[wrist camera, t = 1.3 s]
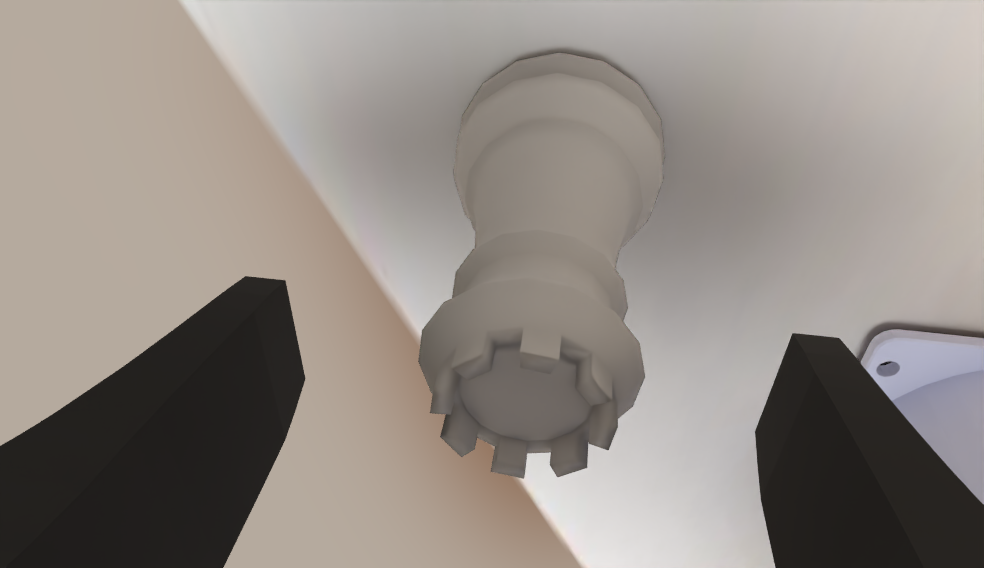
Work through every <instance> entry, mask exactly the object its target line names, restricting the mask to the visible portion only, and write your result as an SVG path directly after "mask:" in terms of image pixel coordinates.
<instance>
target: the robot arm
mask: <svg viewBox="0 0 984 568" xmlns="http://www.w3.org/2000/svg"><path fill="white" fill-rule="evenodd" d="M888 361H892V362H891V363H889V364H887V365H880V364H882V363H884V362H888ZM304 381H305V375H304V370H303V365H302V360H301V355H300V350H299V345H298V341H297V336H296V331H295V326H294V321H293V316H292V311H291V306H290V301H289V296H288V291H287V286H286V281H285V280H276V279H266V278H257V277H247V276H245V277H244V278H242V279H241V280H240V281H238V282H237V283H235V284H234V285H233V286H231V287H230V288H228V289H227V290H226V291H225V292H223V293H222V294H220V295H219V296H218V297H216V298H215V299H214V300H212V301H211V302H210V303H208V304H207V305H206V306H204V307H203V308H202V309H200V310H199V311H198V312H197V313H195V314H194V315H193V316H191V317H190V318H189V319H187V320H186V321H185V322H183V323H182V324H181V325H179V326H178V327H177V328H175V329H174V330H173V331H171V332H170V333H168V334H167V335H166V336H164V337H163V338H162V339H160V340H159V341H158V342H157V343H155V344H154V345H152V346H151V347H150V348H148V349H147V350H146V351H144V352H143V353H141V354H140V355H139V356H137V357H136V358H135V359H133V360H132V361H130V362H129V363H128V364H126V365H125V366H124V367H122V368H121V369H119V370H118V371H116V372H115V373H113V374H112V375H110V376H109V377H107V378H106V379H104V380H103V381H101V382H100V383H98V384H97V385H95V386H94V387H92V388H91V389H90V390H88V391H87V392H85V393H84V394H82V395H81V396H79V397H78V398H77V399H75V400H73V401H72V402H70V403H69V404H67V405H66V406H64V407H63V408H61V409H60V410H58V411H57V412H55V413H54V414H53V415H51V416H49V417H48V418H46V419H44V420H43V421H41V422H40V423H38V424H36V425H35V426H33V427H32V428H30V429H28V430H27V431H25V432H23V433H22V434H20V435H18V436H17V437H15V438H13V439H12V440H10V441H8V442H7V443H5V444H3V445H1V446H0V568H223V567H224V565H225V563H226V561H227V559H228V557H229V555H230V553H231V551H232V549H233V547H234V545H235V543H236V541H237V539H238V536H239V534H240V532H241V530H242V528H243V526H244V524H245V522H246V520H247V518H248V516H249V514H250V512H251V510H252V508H253V506H254V504H255V502H256V500H257V498H258V495H259V494H260V491H261V489H262V487H263V485H264V483H265V481H266V479H267V477H268V475H269V472H270V471H271V469H272V466H273V464H274V462H275V460H276V458H277V456H278V454H279V452H280V450H281V447H282V445H283V443H284V441H285V439H286V436H287V433H288V430H289V427H290V424H291V422H292V419H293V416H294V413H295V410H296V407H297V403H298V400H299V397H300V394H301V391H302V387H303V385H304ZM755 436H756V449H757V463H758V474H759V484H760V494H761V502H762V506H763V511H764V516H765V521H766V526H767V530H768V535H769V540H770V544H771V549H772V553H773V558H774V563H775V567H776V568H984V338H977V337H967V336H957V335H948V334H938V333H929V332H919V331H909V330H900V329H897V330H888V331H884V332H881V333H880V334H878V335H876V336H875V337H874V338H873V339H872V341H871V342H870V344H869V346H868V348H867V350H866V352H865V354H864V356H863V358H862V360H861V363H860V362H859V361H858V360H857V359H856V357H855V356H854V355H853V354H852V353H851V351H850V350H849V349H848V348H847V347H846V345H845V344H844V343H843V342H842V341H841V340H840V339H839V338H834V337H824V336H815V335H805V334H795V333H793V334H792V336H791V339H790V342H789V344H788V347H787V350H786V352H785V355H784V357H783V360H782V363H781V365H780V368H779V370H778V373H777V376H776V378H775V381H774V384H773V386H772V389H771V391H770V394H769V397H768V399H767V402H766V405H765V407H764V410H763V412H762V415H761V418H760V420H759V423H758V425H757V428H756V431H755Z"/></svg>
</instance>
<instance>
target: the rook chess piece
mask: <svg viewBox="0 0 984 568" xmlns="http://www.w3.org/2000/svg"><path fill="white" fill-rule="evenodd" d="M664 159H665V151H664V142H663V134H662V125H661V119H660V117H659V116H658V114H657V112H656V111H655V109H654V108H653V106H652V104H651V103H650V101H649V100H648V98H647V96H646V95H645V93H644V92H643V90H642V88H641V87H640V85H639V84H637V83H636V82H634V81H633V80H631V79H630V78H628V77H627V76H625V75H624V74H622V73H621V72H619V71H618V70H616V69H615V68H613V67H612V66H610V65H609V64H607V63H606V62H604V61H601V60H596V59H591V58H586V57H581V56H576V55H571V54H566V53H561V52H560V53H555V54H549V55H544V56H539V57H534V58H529V59H523V60H518V61H516V62H514V63H513V64H511V65H510V66H508V67H507V68H505V69H504V70H502V71H501V72H499V73H498V74H496V75H495V76H493V77H492V78H490V79H489V80H487V81H486V82H484V83H483V84H482V86H481V87H480V89H479V90H478V92H477V93H476V95H475V97H474V98H473V100H472V101H471V103H470V104H469V106H468V108H467V109H466V111H465V112H464V114H463V116H462V120H461V128H460V134H459V135H458V139H457V147H456V155H455V162H454V170H453V174H454V179H455V183H456V187H457V190H458V193H459V196H460V199H461V203H462V206H463V209H464V212H465V215H466V216H467V217H468V218H469V219H470V221H471V223H472V226H473V229H474V230H475V231H476V235H475V249H473V250H472V252H471V253H470V254H469V256H468V257H467V258H466V260H465V261H464V262H463V264H462V265H461V266H460V268H459V269H458V270H457V272H456V275H455V282H454V289H453V295H452V299H450V300H448V301H446V302H444V303H443V304H442V305H441V306H440V308H439V309H438V310H437V312H436V313H435V314H434V316H433V317H432V318H431V319H430V321H429V322H428V323H427V325H426V326H425V327H424V329H423V330H422V336H421V344H420V353H419V361H418V362H419V364H420V366H421V369H422V372H423V374H424V376H425V379H426V381H427V384H428V386H429V388H430V391H431V393H432V394H433V396H432V403H431V411H430V413H435V414H446V416H445V420H444V424H443V429H442V432H441V436H440V437H441V438H442V439H443V440H444V441H445V442H446V443H447V444H448V445H449V446H450V447H451V448H452V449H453V450H455V451H456V452H457V453H458V454H459V455H460V456H461V457H463V456H464V455H466V454H468V453H469V452H471V451H472V450H474V449H475V445H476V440H477V438H479V439H481V440H483V441H485V442H487V443H489V444H491V445H493V446H495V450H494V456H493V461H492V468H491V472H495V473H500V474H505V475H510V476H514V477H519V478H524V475H525V467H526V459H527V453H545V452H551V458H550V466H551V468H552V469H553V471H554V472H555V474H556V476H557V477H560V476H563V475H566V474H569V473H572V472H575V471H578V470H581V469H584V468H587V457H588V442H589V444H592V445H595V446H597V447H600V448H603V449H606V450H609V447H610V445H611V442H612V440H613V437H614V435H615V432H616V430H617V428H618V418H620V417H621V416H622V415H623V414H624V413H625V412H627V411H628V410H629V409H630V408H631V407H633V405H634V402H635V400H636V397H637V395H638V392H639V390H640V388H641V385H642V383H643V380H644V378H645V373H644V367H643V361H642V355H641V349H640V343H639V342H638V340H637V339H636V338H635V337H634V335H633V334H632V333H631V331H630V330H629V329H628V327H627V326H626V325H625V324H624V322H623V320H624V317H625V314H626V312H627V309H628V305H627V299H626V294H625V288H624V282H623V279H622V278H621V277H620V275H619V274H618V273H617V271H616V270H615V267H616V262H617V258H618V254H619V250H620V249H621V248H622V247H623V246H624V245H625V244H626V243H627V242H628V241H629V240H630V239H631V238H632V237H633V236H634V235H635V234H636V233H637V231H638V230H639V229H640V228H641V227H642V226H643V225H644V224H645V223H646V222H647V221H648V219H649V217H650V215H651V213H652V210H653V207H654V204H655V202H656V199H657V196H658V193H659V190H660V187H661V184H662V181H663V178H664V176H663V167H662V165H663V162H664Z"/></svg>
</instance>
